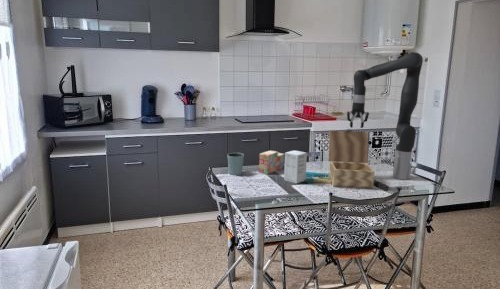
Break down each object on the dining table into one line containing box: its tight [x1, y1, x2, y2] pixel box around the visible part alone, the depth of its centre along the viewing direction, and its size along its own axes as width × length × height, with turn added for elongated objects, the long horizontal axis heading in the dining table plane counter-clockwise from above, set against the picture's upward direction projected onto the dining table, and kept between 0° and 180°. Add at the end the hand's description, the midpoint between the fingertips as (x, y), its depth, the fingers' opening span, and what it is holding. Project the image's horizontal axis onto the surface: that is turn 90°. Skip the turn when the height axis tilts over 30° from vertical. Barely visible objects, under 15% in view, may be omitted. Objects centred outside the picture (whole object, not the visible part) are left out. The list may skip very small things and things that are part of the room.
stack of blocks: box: [258, 149, 285, 175], centre depth 242 cm, size 21×6×12 cm, turn 145°
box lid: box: [328, 128, 369, 164], centre depth 229 cm, size 23×20×3 cm
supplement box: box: [283, 150, 308, 184], centre depth 221 cm, size 10×9×17 cm
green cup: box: [227, 152, 245, 176], centre depth 231 cm, size 10×10×12 cm
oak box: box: [328, 161, 375, 190], centre depth 220 cm, size 22×18×10 cm
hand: (356, 127), depth 246 cm, fingers open, 5 cm apart
